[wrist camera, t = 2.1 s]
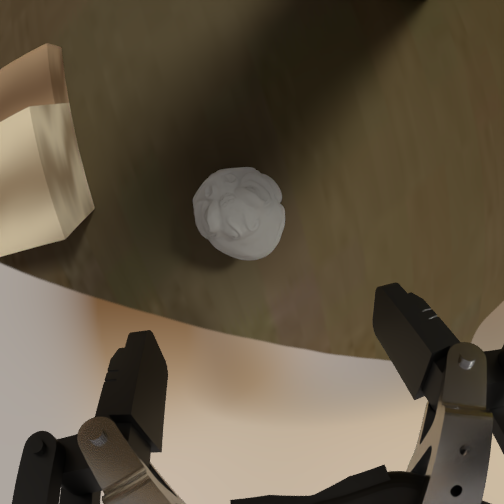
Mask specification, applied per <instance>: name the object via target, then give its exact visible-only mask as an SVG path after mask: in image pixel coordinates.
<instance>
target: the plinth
mask: <svg viewBox="0 0 504 504" xmlns="http://www.w3.org/2000/svg"><path fill="white" fill-rule="evenodd" d="M94 209H95V207H94V204H93V200H92V197H91V193H90V190H89V186H88V183H87V179H86V175H85V172H84V168H83V164H82V160H81V156H80V152H79V148H78V143H77V139H76V134H75V130H74V125H73V120H72V115H71V110H70V104H69V98H68V92H67V86H66V80H65V73H64V65H63V57H62V47H59V46H55V45H51V44H48V43H46V44H44V45H42V46H40V47H38V48H37V49H35V50H33V51H31V52H29V53H27V54H25V55H24V56H22V57H20V58H18V59H17V60H15V61H13V62H11V63H10V64H8V65H7V66H5V67H3V68H2V69H0V257H2V256H6V255H9V254H13V253H16V252H20V251H23V250H27V249H31V248H34V247H38V246H42V245H46V244H49V243H53V242H57V241H61V240H65V239H66V238H67V237H68V236H69V235H70V234H71V233H72V232H73V231H74V230H75V228H76V227H77V226H78V225H79V224H80V223H81V222H82V221H83V220H84V219H85V218H86V217H87V216H88V215H89V214H90V213H91V212H92V211H93V210H94Z"/></svg>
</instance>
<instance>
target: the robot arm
mask: <svg viewBox="0 0 504 504" xmlns="http://www.w3.org/2000/svg"><path fill="white" fill-rule="evenodd" d="M373 328H374V332H375V335H376V336H377V338H378V340H379V341H380V343H381V345H382V346H383V348H384V349H385V351H386V353H387V354H388V356H389V358H390V359H391V361H392V362H393V364H394V366H395V368H396V369H397V371H398V373H399V374H400V376H401V378H402V380H403V381H404V383H405V384H406V386H407V388H408V390H409V392H410V393H411V395H412V397H413V399H414V400H416V399H418V398H421V397H423V396H425V397H426V398H427V400H428V402H427V404H426V408H425V413H424V417H423V422H422V426H421V430H420V434H419V438H418V442H417V445H416V449H415V452H414V454H413V456H412V458H411V460H410V463H409V465H408V468H407V471H406V472H404V471H391V472H387V470H386V467H385V465H382V466H379V467H377V468H374V469H371V470H368V471H365V472H362V473H359V474H356V475H353V476H349V477H347V478H346V479H344V480H342V481H340V482H339V483H336V484H335V485H333V486H331V487H329V488H327V489H325V490H323V491H321V492H319V493H317V494H315V495H311V496H279V495H267V496H260V497H253V498H245V499H236V500H231V504H490V503H488V502H485V501H482V497H483V493H484V488H485V483H486V477H487V471H488V465H489V458H490V449H491V440H492V433H493V435H494V436H495V438H496V440H497V442H498V444H499V446H500V448H501V450H502V452H503V454H504V345H503V347H502V349H499V350H493V351H485V352H483V351H482V350H481V349H480V348H479V347H478V346H476V345H474V344H472V343H468V342H460V341H459V340H458V339H457V338H456V337H455V335H454V334H453V333H452V332H451V331H450V329H449V328H448V327H447V326H446V325H445V324H444V322H443V321H442V320H441V319H440V318H439V317H437V314H436V313H435V312H434V311H433V310H431V307H430V306H429V305H428V304H427V303H426V302H425V301H424V300H423V299H422V298H420V297H419V296H417V295H415V294H413V293H408V294H407V292H406V291H405V290H404V289H403V288H402V287H401V286H400V285H399V284H398V283H392V284H388V285H384V286H380V287H377V289H376V292H375V302H374V312H373ZM167 380H168V370H167V365H166V361H165V359H164V357H163V355H162V353H161V351H160V348H159V346H158V344H157V341H156V339H155V337H154V335H153V333H152V332H151V331H150V330H147V331H139V332H132V333H130V334H129V335H128V339H127V342H126V346H125V348H119V349H118V350H117V352H116V353H115V354H114V356H113V357H112V358H111V360H110V364H109V368H108V373H107V374H106V378H105V382H104V385H103V388H102V392H101V396H100V400H99V403H98V407H97V411H96V415H95V417H94V418H91V419H90V420H88V421H86V422H85V423H84V424H83V425H82V426H81V428H80V429H79V432H78V434H76V435H73V436H69V437H65V438H61V439H56V438H55V437H54V436H53V435H51V434H50V433H49V432H46V431H39V432H36V433H34V434H32V435H31V436H30V437H29V438H28V440H27V441H26V443H25V446H24V449H23V453H22V457H21V461H20V466H19V470H18V474H17V479H16V484H15V490H14V495H13V500H12V504H100V494H101V491H103V492H104V496H102V501H103V503H104V504H185V502H184V501H183V500H182V499H181V498H180V497H179V496H178V495H177V494H176V493H175V492H174V490H173V489H172V488H171V487H170V486H169V485H168V483H167V482H166V481H165V480H164V479H163V478H162V476H161V475H160V474H159V473H158V471H157V470H156V469H155V468H154V466H153V465H152V464H151V463H150V453H151V452H162V437H163V424H164V411H165V400H166V388H167ZM60 488H61V494H60ZM59 496H60V503H59Z"/></svg>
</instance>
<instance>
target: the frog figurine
mask: <svg viewBox="0 0 504 504" xmlns="http://www.w3.org/2000/svg"><path fill="white" fill-rule="evenodd" d="M281 200H282V194H281V191H280V188H279V187H278V185H277V184H276V182H275V181H274V180H273V179H272V178H270V177H269V176H267V175H265V174H260V172H259V171H258V170H255V168H252V167H239V168H228V169H220V170H218V171H217V172H216V173H212V174H211V175H210V176H209V177H208V178H207V179H206V180H205V181H204V182H203V183H202V185H201V186H200V188H199V189H198V191H197V192H196V194H195V196H194V198H193V207H194V216H195V222H196V226H197V228H198V230H199V232H200V233H201V235H202V236H203V237H205V238H206V239H208V240H209V241H210V243H211V244H212V245H213V246H214V247H215V248H216V249H218V250H219V251H221V252H222V253H224V254H227V255H229V256H231V257H234V258H237V259H240V260H257V259H260V258H263V257H266V256H267V255H268V254H270V253H271V252H272V251H273V250H274V249H275V247H276V246H277V244H278V242H279V241H280V238H281V234H282V231H283V229H284V225H285V209H284V207H283V206H282V205H281V204H280V202H281Z"/></svg>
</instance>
